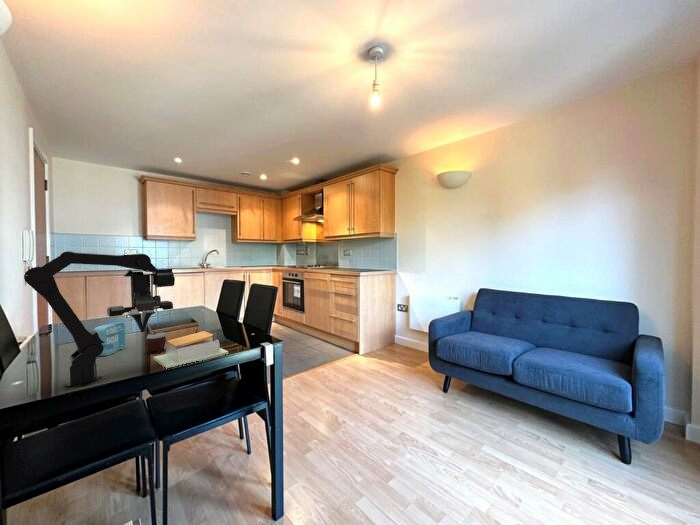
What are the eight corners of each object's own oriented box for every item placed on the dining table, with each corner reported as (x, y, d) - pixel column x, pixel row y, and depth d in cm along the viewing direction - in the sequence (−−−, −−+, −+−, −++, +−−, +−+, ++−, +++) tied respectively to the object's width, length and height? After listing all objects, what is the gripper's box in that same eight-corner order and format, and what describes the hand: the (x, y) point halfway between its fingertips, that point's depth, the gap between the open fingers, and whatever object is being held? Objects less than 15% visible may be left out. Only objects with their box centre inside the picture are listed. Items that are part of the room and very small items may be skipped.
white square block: (178, 363, 107) (177, 341, 107) (166, 354, 117) (165, 334, 117) (219, 352, 118) (219, 332, 118) (205, 345, 128) (204, 327, 128)
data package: (105, 356, 120) (104, 327, 120) (93, 357, 120) (92, 328, 120) (125, 348, 132) (124, 321, 132) (115, 348, 132) (114, 322, 132)
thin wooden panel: (176, 348, 108) (175, 346, 108) (167, 342, 116) (166, 340, 116) (214, 336, 118) (214, 334, 118) (204, 332, 126) (203, 331, 126)
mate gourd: (169, 351, 126) (168, 316, 125) (148, 356, 119) (147, 319, 119) (161, 348, 130) (159, 314, 130) (140, 353, 123) (139, 317, 123)
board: (166, 369, 103) (166, 366, 103) (153, 359, 115) (153, 356, 115) (228, 353, 119) (228, 351, 119) (211, 346, 131) (211, 343, 131)
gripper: (111, 292, 93) (113, 341, 93) (177, 287, 106) (178, 330, 107) (105, 290, 101) (107, 336, 101) (167, 286, 114) (169, 326, 114)
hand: (142, 332), depth 105 cm, fingers closed
